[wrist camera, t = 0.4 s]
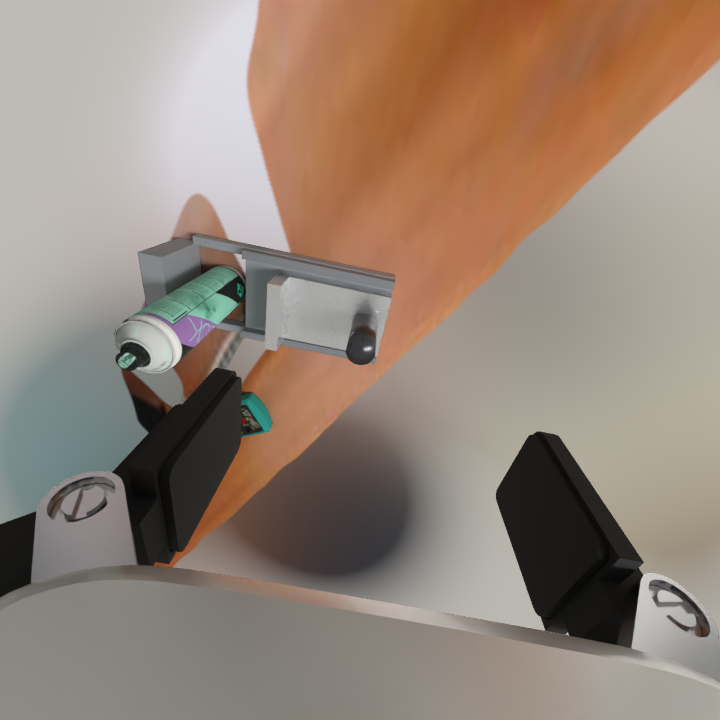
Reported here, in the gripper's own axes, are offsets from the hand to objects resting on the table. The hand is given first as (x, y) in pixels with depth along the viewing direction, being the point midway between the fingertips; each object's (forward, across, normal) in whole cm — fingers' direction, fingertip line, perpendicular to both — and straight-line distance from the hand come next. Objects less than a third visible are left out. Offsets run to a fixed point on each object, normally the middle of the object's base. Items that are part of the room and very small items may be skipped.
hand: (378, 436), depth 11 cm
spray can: (+34, +19, +9) cm, 40 cm away
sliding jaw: (+32, +5, +9) cm, 34 cm away
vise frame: (+34, +12, +9) cm, 37 cm away
